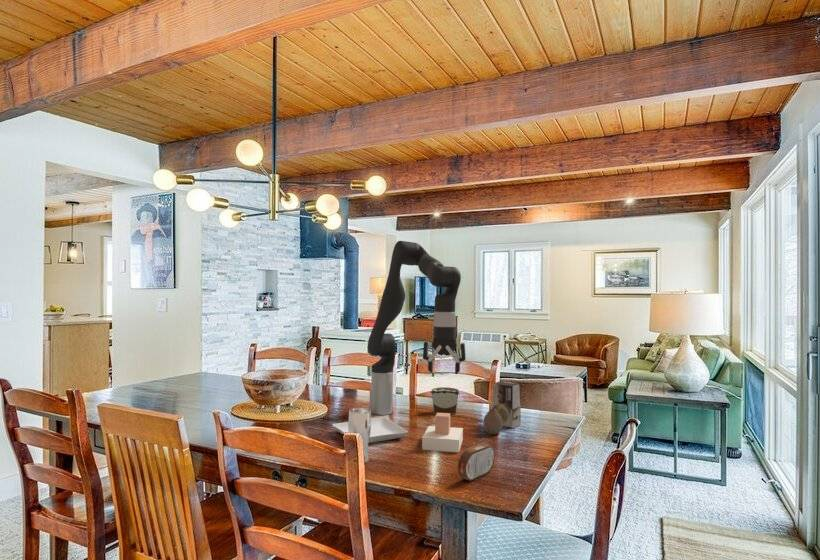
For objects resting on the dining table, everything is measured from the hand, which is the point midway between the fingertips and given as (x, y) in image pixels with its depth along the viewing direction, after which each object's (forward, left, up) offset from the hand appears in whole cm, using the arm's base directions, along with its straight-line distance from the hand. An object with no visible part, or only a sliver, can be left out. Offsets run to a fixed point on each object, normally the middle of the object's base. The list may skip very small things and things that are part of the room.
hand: (443, 373), depth 166 cm
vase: (+16, +18, -24) cm, 34 cm away
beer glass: (-23, -21, -24) cm, 39 cm away
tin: (+13, -26, -24) cm, 38 cm away
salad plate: (-27, +4, -25) cm, 37 cm away
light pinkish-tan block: (0, 0, -20) cm, 20 cm away
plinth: (0, 0, -24) cm, 24 cm away
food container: (-5, +45, -24) cm, 51 cm away
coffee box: (+21, +31, -24) cm, 45 cm away
